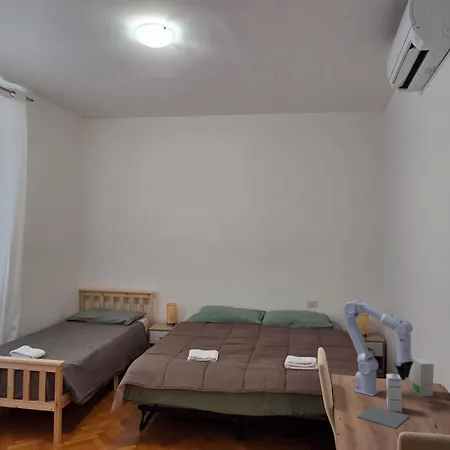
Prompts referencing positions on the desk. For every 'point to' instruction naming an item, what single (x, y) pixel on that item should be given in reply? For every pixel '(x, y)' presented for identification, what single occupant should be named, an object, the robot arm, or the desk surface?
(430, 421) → the desk surface
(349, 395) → the desk surface
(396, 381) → the syrup box
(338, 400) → the desk surface
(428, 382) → the skincare box
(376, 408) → the mat
